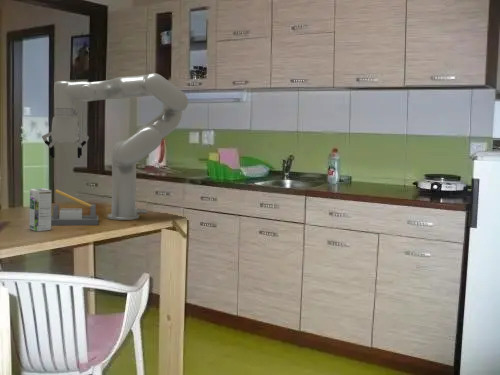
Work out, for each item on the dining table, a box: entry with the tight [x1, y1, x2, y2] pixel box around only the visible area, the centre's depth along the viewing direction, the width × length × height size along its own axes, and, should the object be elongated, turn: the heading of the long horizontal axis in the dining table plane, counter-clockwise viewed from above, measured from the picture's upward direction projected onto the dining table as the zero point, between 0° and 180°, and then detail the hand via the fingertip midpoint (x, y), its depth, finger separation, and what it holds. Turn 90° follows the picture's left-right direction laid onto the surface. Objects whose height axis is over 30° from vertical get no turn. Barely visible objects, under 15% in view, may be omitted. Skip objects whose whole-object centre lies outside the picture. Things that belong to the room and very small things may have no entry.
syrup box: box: [29, 187, 52, 232], centre depth 189 cm, size 6×6×14 cm
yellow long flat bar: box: [54, 188, 94, 208], centre depth 204 cm, size 16×3×1 cm, turn 107°
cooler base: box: [51, 203, 99, 226], centre depth 205 cm, size 18×10×7 cm, turn 106°
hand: (66, 157), depth 209 cm, fingers open, 9 cm apart
